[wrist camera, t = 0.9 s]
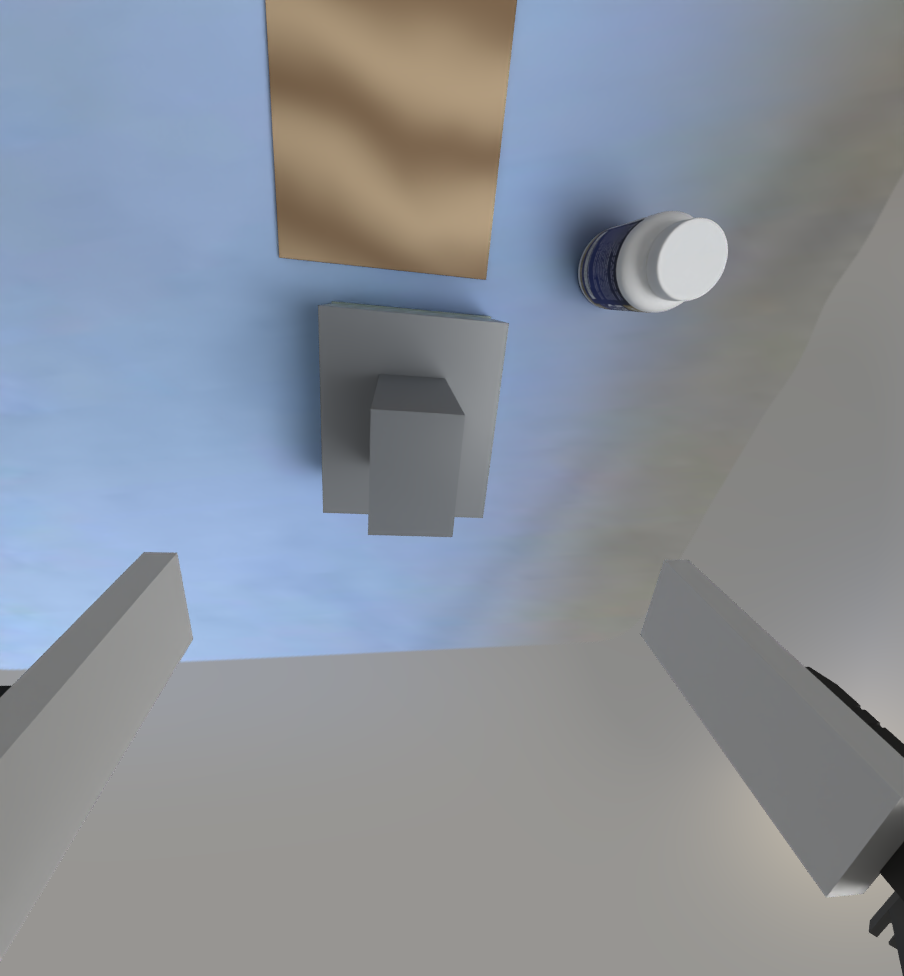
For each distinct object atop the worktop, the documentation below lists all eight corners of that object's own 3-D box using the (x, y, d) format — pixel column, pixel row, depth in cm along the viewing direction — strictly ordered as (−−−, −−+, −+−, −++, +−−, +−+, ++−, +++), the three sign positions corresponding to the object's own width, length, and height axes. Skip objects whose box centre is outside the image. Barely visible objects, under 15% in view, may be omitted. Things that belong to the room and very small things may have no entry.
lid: (320, 304, 26) (277, 311, 17) (505, 322, 27) (558, 337, 18) (325, 506, 31) (294, 595, 22) (480, 511, 32) (512, 597, 23)
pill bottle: (584, 320, 34) (651, 329, 25) (568, 243, 31) (635, 223, 22) (652, 294, 33) (744, 294, 24) (641, 215, 31) (738, 184, 22)
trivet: (263, -80, 23) (260, -86, 23) (518, -28, 25) (520, -32, 25) (280, 257, 30) (279, 257, 29) (485, 279, 32) (485, 279, 31)
